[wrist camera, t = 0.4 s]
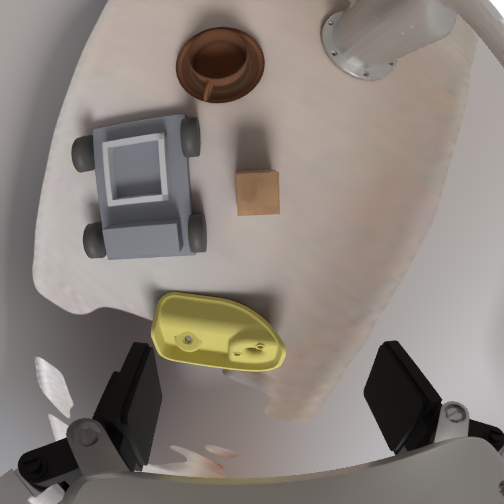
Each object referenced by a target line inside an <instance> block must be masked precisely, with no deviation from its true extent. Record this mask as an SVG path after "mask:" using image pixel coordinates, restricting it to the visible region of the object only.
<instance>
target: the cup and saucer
mask: <svg viewBox="0 0 504 504" xmlns="http://www.w3.org/2000/svg"><path fill="white" fill-rule="evenodd" d="M264 66H265V60H264V55H263V52H262V49H261V48H260V46H259V44H258V43H257V42H256V41H255V40H254V39H253V38H252V37H251V36H250V35H248V34H247V33H245V32H243V31H240V30H237V29H234V28H227V27H218V28H212V29H208V30H205V31H202V32H200V33H198V34H196V35H195V36H193V37H192V38H191V39H190V40H188V41H187V42H186V44H185V45H184V46H183V47H182V49H181V51H180V53H179V55H178V57H177V61H176V73H177V77H178V80H179V82H180V84H181V86H182V87H183V88H184V90H185V91H186V92H188V93H189V94H190V95H191V96H193V97H195V98H197V99H199V100H201V101H205V102H209V103H226V102H231V101H234V100H237V99H239V98H241V97H243V96H245V95H247V94H248V93H249V92H251V91H252V90H253V89H254V88H255V87H256V85H257V84H258V83H259V81H260V79H261V77H262V75H263V72H264Z"/></svg>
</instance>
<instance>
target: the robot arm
mask: <svg viewBox="0 0 504 504" xmlns="http://www.w3.org/2000/svg"><path fill="white" fill-rule="evenodd" d="M348 1H349V4H350V6H349V7H348V8H347V9H346V10H344V11H339V12H336V13H335V14H333V15H331V16H330V17H329V18H328V19H327V20H326V22H325V23H324V25H323V28H322V33H321V39H322V44H323V47H324V50H325V52H326V53H327V55H328V57H329V58H330V59H331V61H332V62H333V63H334V64H335V65H336V66H337V67H338V68H340V69H341V70H342V71H344V72H345V73H347V74H349V75H350V76H353V77H355V78H358V79H363V80H376V79H380V78H383V77H385V76H386V75H388V74H389V73H390V72H391V71H392V70H393V69H394V67H395V65H396V62H397V59H398V58H400V57H403V56H405V55H407V54H409V53H411V52H413V51H415V50H418V49H420V48H422V47H424V46H427V45H429V44H431V43H433V42H436V41H438V40H441V39H443V38H444V37H446V36H447V35H448V34H449V33H450V32H451V30H452V29H453V27H454V24H455V20H456V13H458V14H459V15H460V16H461V17H462V18H463V19H464V20H465V21H466V22H467V24H469V25H470V26H471V27H472V28H473V29H474V31H475V32H476V33H477V34H478V35H479V37H480V38H481V39H482V40H483V41H484V42H485V44H486V45H487V46H488V48H489V49H490V50H491V52H492V53H493V54H494V55H495V57H496V58H497V59H498V61H499V62H500V63H501V65H502V66H503V67H504V0H358V1H357V0H348ZM329 24H330V25H329ZM332 54H334V56H333V55H332ZM364 74H365V75H364ZM364 397H365V399H366V401H367V403H368V405H369V407H370V409H371V411H372V413H373V415H374V417H375V419H376V422H377V424H378V426H379V428H380V430H381V432H382V434H383V436H384V438H385V440H386V442H387V444H388V447H389V448H390V450H391V451H394V453H395V456H392V457H389V458H385V459H381V460H377V461H373V462H369V463H365V464H360V465H356V466H351V467H346V468H341V469H336V470H330V471H324V472H317V473H310V474H302V475H292V476H281V477H267V478H203V477H186V476H175V475H165V474H155V473H145V472H142V468H143V465H146V466H147V464H148V460H149V456H150V451H151V447H152V442H153V437H154V433H155V428H156V424H157V419H158V415H159V411H160V406H161V402H162V393H161V388H160V382H159V377H158V372H157V366H156V361H155V355H154V349H153V348H152V347H149V345H148V344H147V343H139V342H134V343H133V345H132V347H131V349H130V351H129V353H128V355H127V358H126V360H125V362H124V364H123V366H122V368H121V371H120V372H117V371H115V372H113V374H112V376H111V378H110V380H109V382H108V384H107V387H106V389H105V391H104V393H103V395H102V397H101V400H100V402H99V404H98V406H97V409H96V411H95V413H94V416H93V418H92V419H89V418H82V419H78V420H76V421H74V422H73V423H71V424H70V426H69V427H68V429H67V433H66V436H67V438H64V439H62V440H59V441H56V442H54V443H51V444H48V445H46V446H43V447H40V448H37V449H35V450H32V451H29V452H27V453H25V454H23V455H22V456H21V457H20V459H19V461H18V469H16V470H15V471H14V470H13V469H11V470H9V471H8V472H7V473H5V474H4V475H2V476H1V477H0V504H504V433H503V432H502V431H501V430H500V429H499V428H497V427H494V426H491V425H488V424H484V423H481V422H478V421H474V420H471V419H469V412H468V410H467V408H466V407H465V406H464V405H462V404H460V403H458V402H454V401H451V402H447V403H445V404H444V405H442V404H441V401H442V399H441V397H440V396H439V394H438V393H437V392H436V390H435V389H434V388H433V386H432V385H431V384H430V382H429V381H428V380H427V378H426V377H425V376H424V374H423V373H422V372H421V371H420V369H419V368H418V367H417V365H416V364H415V363H414V361H413V360H412V359H411V357H410V356H409V355H408V354H407V352H406V351H405V350H404V349H403V347H402V346H401V345H400V344H399V342H398V341H386V342H384V343H383V344H382V345H381V346H380V347H379V349H378V352H377V355H376V358H375V361H374V364H373V367H372V370H371V372H370V375H369V378H368V380H367V383H366V386H365V388H364ZM134 470H135V471H141V472H134Z"/></svg>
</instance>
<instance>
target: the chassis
mask: <svg viewBox="0 0 504 504" xmlns="http://www.w3.org/2000/svg"><path fill="white" fill-rule="evenodd" d="M71 154H72V162H73V165H74V167H75V169H76V170H77V171H78V172H86V171H92V170H94V169H95V173H96V183H97V192H98V200H99V208H100V215H101V222H102V223H93V224H88V225H87V226H86V228H85V230H84V234H83V245H84V250H85V252H86V254H87V256H88V257H89V258H103V257H105V256H106V254H107V257H108V260H114V259H133V258H151V257H170V256H188V255H195V254H196V253H197V252H206V247H207V233H206V222H205V217H204V214H194V215H193V213H192V201H191V188H190V174H189V159H188V157H195V156H199V155H200V129H199V122H198V119H197V118H188V119H187V117H186V114H178V115H170V116H163V117H156V118H149V119H143V120H137V121H132V122H126V123H121V124H116V125H111V126H106V127H102V128H97V129H93V136H91V135H88V136H83V137H79V138H77V139H76V140H75V141H74V143H73V146H72V153H71Z"/></svg>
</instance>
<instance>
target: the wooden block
mask: <svg viewBox="0 0 504 504" xmlns="http://www.w3.org/2000/svg"><path fill="white" fill-rule="evenodd" d="M236 191H237V211H238V216H246V215H267V214H280V202H279V172H277V171H275V170H272V169H266V170H241V171H236Z"/></svg>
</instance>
